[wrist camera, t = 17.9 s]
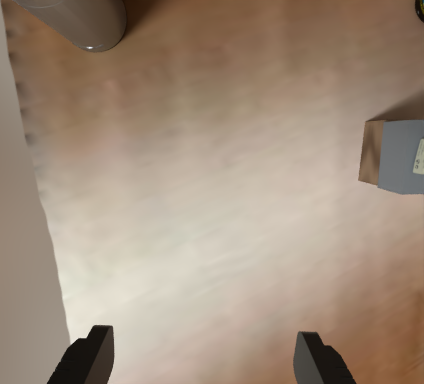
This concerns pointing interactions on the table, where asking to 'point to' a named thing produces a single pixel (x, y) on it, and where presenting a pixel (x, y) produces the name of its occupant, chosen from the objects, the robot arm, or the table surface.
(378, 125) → the walnut base block
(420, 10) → the supplement container
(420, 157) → the skincare box
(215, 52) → the table surface
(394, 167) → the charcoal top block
